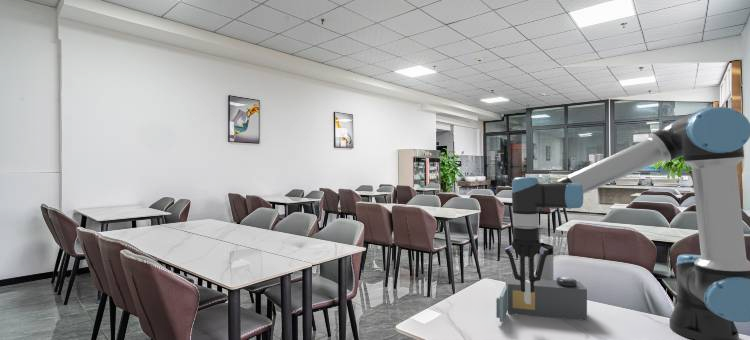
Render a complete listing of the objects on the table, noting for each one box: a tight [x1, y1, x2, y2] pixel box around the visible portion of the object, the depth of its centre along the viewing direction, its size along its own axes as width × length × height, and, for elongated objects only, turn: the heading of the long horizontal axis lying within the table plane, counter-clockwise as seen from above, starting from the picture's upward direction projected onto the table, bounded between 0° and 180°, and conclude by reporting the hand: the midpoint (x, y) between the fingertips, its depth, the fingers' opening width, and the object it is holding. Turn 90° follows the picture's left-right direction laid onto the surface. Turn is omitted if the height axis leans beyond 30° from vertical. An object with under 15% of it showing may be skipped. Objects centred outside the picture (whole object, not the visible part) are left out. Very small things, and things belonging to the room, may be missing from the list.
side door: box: [495, 286, 508, 323], centre depth 118 cm, size 10×2×8 cm, turn 153°
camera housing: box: [505, 276, 588, 321], centre depth 123 cm, size 24×8×12 cm, turn 75°
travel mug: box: [534, 242, 554, 280], centre depth 137 cm, size 6×7×20 cm
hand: (527, 302), depth 112 cm, fingers closed
